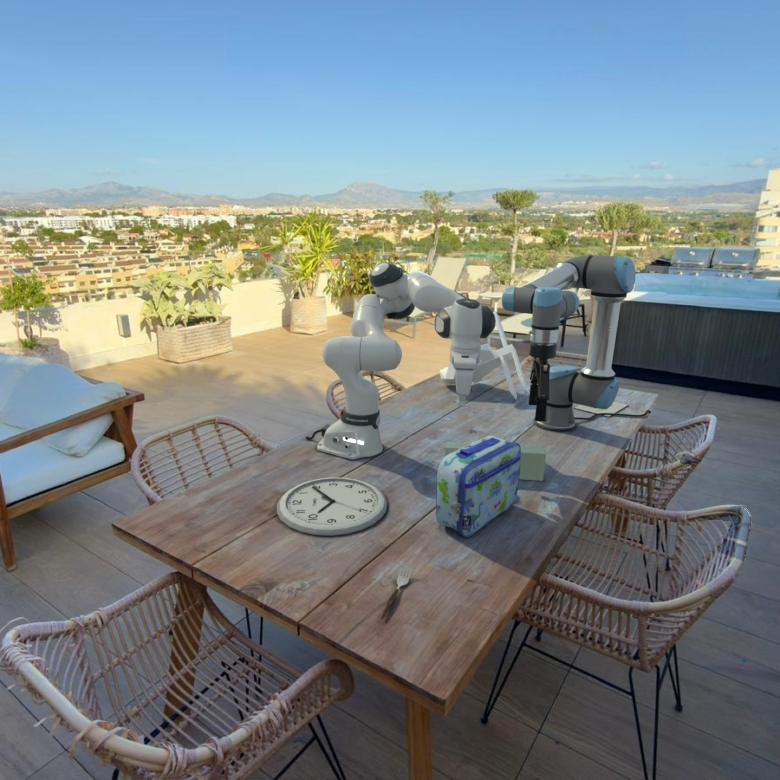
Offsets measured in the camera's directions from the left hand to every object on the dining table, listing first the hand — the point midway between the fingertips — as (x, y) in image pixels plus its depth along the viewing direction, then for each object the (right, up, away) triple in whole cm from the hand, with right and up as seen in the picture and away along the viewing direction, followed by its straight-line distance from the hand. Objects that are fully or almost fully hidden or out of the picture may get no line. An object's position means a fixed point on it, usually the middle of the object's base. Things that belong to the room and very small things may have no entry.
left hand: (461, 400), depth 157 cm
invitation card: (+70, -4, +70) cm, 99 cm away
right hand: (+22, -4, -1) cm, 22 cm away
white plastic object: (+20, +2, +86) cm, 89 cm away
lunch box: (+1, -31, -19) cm, 36 cm away
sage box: (+10, -23, +6) cm, 26 cm away
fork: (-20, -39, -48) cm, 66 cm away
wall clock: (-37, -28, -14) cm, 49 cm away
